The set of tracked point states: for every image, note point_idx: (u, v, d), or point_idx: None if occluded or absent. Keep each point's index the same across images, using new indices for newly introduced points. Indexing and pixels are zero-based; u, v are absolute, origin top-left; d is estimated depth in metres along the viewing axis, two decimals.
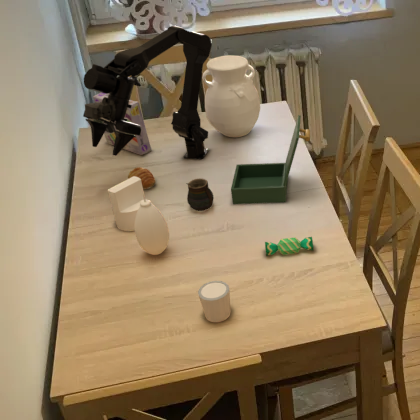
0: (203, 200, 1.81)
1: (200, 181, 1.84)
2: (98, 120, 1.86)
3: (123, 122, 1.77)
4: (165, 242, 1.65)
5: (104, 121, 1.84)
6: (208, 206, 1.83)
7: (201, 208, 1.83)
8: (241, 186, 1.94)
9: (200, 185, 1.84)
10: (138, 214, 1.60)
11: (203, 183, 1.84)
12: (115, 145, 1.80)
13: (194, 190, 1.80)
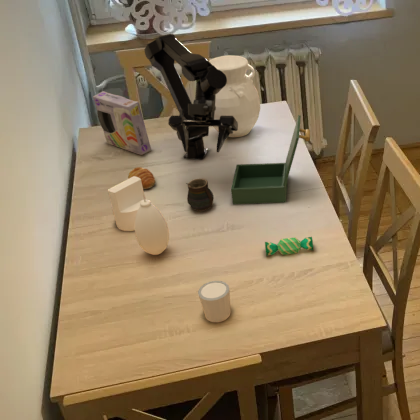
0: (203, 200, 1.81)
1: (200, 181, 1.84)
2: (184, 126, 1.87)
3: (228, 116, 1.85)
4: (165, 242, 1.65)
5: (193, 125, 1.87)
6: (208, 206, 1.83)
7: (201, 208, 1.83)
8: (241, 186, 1.94)
9: (200, 185, 1.84)
10: (138, 214, 1.60)
11: (203, 183, 1.84)
12: (219, 141, 1.85)
13: (194, 190, 1.80)
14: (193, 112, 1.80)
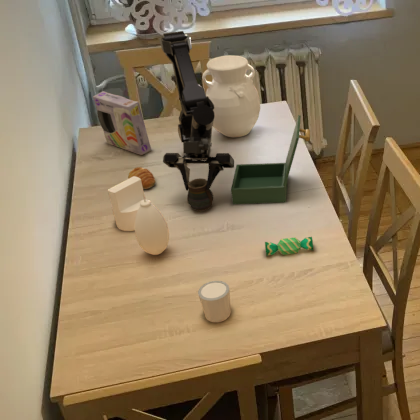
0: (203, 200, 1.81)
1: (200, 181, 1.84)
2: (185, 163, 1.83)
3: (224, 153, 1.81)
4: (165, 242, 1.65)
5: (189, 162, 1.83)
6: (208, 206, 1.83)
7: (201, 208, 1.83)
8: (241, 186, 1.94)
9: (200, 185, 1.84)
10: (138, 214, 1.60)
11: (203, 183, 1.84)
12: (209, 179, 1.81)
13: (194, 190, 1.80)
14: (188, 151, 1.76)
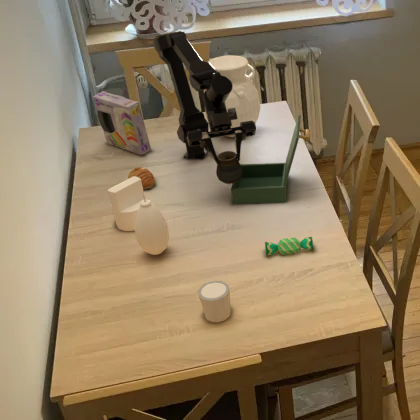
0: (237, 171, 1.82)
1: (225, 154, 1.83)
2: None
3: (248, 121, 1.82)
4: (165, 242, 1.65)
5: (212, 136, 1.81)
6: (240, 177, 1.84)
7: (235, 180, 1.82)
8: (241, 186, 1.94)
9: (226, 158, 1.84)
10: (138, 214, 1.60)
11: (229, 155, 1.84)
12: (239, 149, 1.81)
13: (227, 162, 1.79)
14: (220, 122, 1.75)
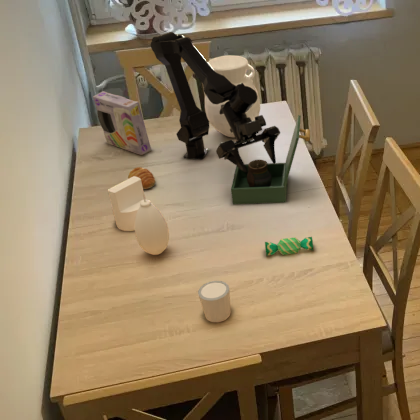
0: (269, 177, 1.90)
1: (254, 163, 1.91)
2: None
3: (272, 127, 1.91)
4: (165, 242, 1.65)
5: (241, 146, 1.87)
6: None
7: (268, 186, 1.91)
8: (241, 186, 1.94)
9: (255, 167, 1.91)
10: (138, 214, 1.60)
11: (257, 164, 1.91)
12: (273, 152, 1.90)
13: (261, 170, 1.87)
14: (253, 130, 1.82)
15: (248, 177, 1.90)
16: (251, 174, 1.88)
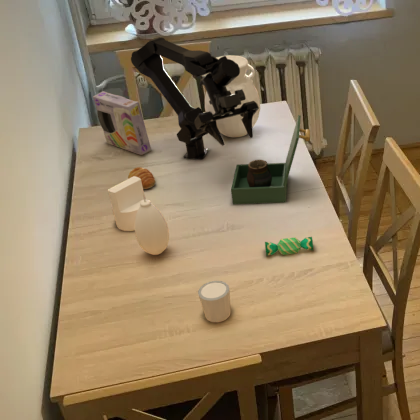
0: (269, 177, 1.90)
1: (254, 163, 1.91)
2: None
3: (251, 102, 1.94)
4: (165, 242, 1.65)
5: (219, 118, 1.90)
6: None
7: (268, 186, 1.91)
8: (241, 186, 1.94)
9: (255, 167, 1.91)
10: (138, 214, 1.60)
11: (257, 164, 1.91)
12: (251, 127, 1.93)
13: (261, 170, 1.87)
14: (232, 103, 1.85)
15: (248, 177, 1.90)
16: (251, 174, 1.88)
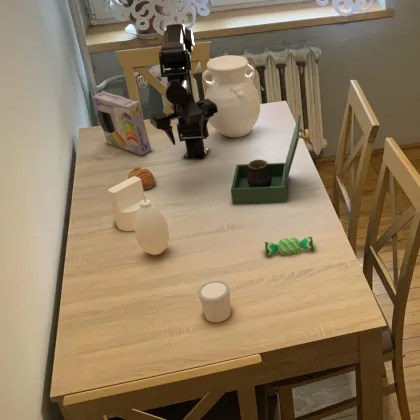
0: (269, 177, 1.90)
1: (254, 163, 1.91)
2: None
3: (211, 105, 1.90)
4: (165, 242, 1.65)
5: (176, 118, 1.87)
6: None
7: (268, 186, 1.91)
8: (241, 186, 1.94)
9: (255, 167, 1.91)
10: (138, 214, 1.60)
11: (257, 164, 1.91)
12: (205, 127, 1.94)
13: (261, 170, 1.87)
14: (193, 121, 1.83)
15: (248, 177, 1.90)
16: (251, 174, 1.88)
